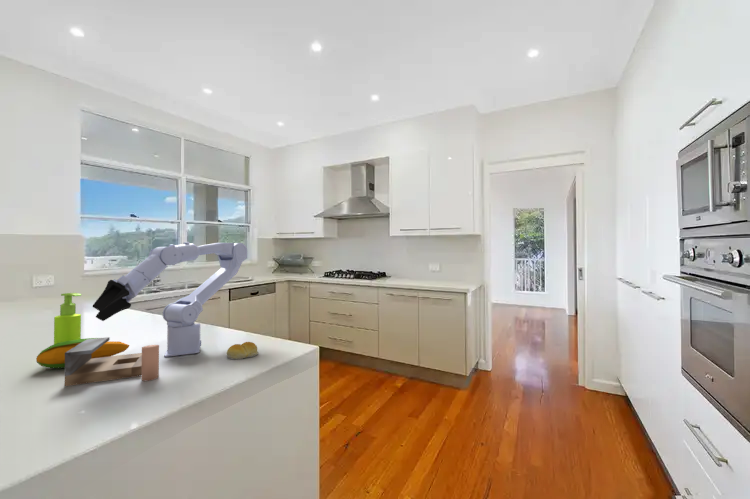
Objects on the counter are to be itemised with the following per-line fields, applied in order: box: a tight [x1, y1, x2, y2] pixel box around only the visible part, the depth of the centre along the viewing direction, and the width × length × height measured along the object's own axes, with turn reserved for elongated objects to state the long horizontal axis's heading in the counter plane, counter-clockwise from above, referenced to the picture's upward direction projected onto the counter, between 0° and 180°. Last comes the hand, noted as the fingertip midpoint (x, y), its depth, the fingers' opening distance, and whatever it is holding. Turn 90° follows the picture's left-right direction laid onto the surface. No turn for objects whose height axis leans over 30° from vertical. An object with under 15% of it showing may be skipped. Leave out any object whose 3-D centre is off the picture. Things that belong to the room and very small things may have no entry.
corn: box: [36, 337, 130, 369], centre depth 93 cm, size 7×8×20 cm
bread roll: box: [226, 341, 259, 360], centre depth 100 cm, size 8×9×4 cm
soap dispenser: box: [53, 292, 82, 345], centre depth 97 cm, size 6×7×20 cm
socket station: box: [63, 336, 142, 387], centre depth 86 cm, size 15×14×8 cm
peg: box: [140, 344, 160, 382], centre depth 81 cm, size 4×4×8 cm
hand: (97, 314), depth 83 cm, fingers open, 7 cm apart
